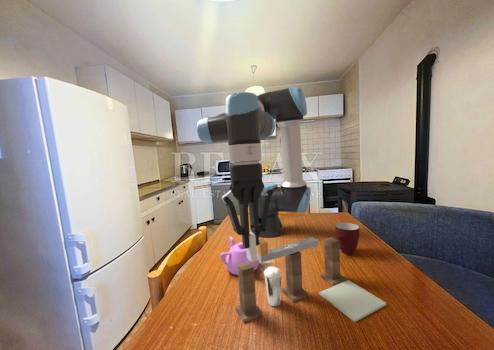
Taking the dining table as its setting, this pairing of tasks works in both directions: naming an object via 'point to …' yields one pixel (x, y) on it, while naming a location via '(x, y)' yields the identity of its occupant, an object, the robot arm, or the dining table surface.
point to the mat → (352, 300)
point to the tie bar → (282, 249)
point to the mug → (347, 237)
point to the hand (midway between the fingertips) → (251, 259)
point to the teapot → (236, 257)
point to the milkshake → (273, 285)
